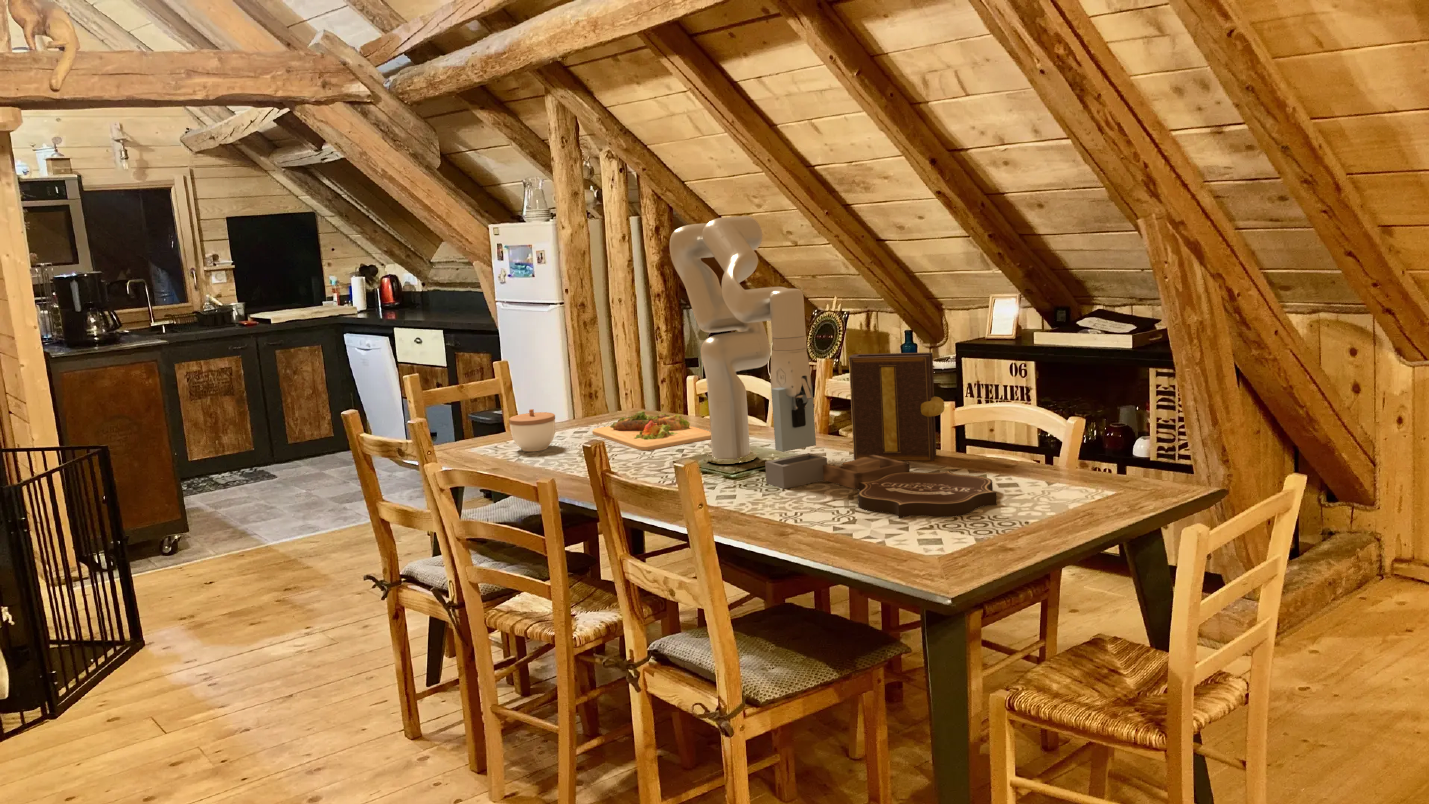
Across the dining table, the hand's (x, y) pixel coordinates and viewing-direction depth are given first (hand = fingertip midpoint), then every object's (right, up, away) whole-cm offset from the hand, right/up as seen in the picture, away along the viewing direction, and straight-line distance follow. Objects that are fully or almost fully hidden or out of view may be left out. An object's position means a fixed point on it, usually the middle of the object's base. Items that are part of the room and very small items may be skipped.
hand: (794, 424), depth 261 cm
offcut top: (+15, -10, +1) cm, 18 cm away
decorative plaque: (+26, -16, -20) cm, 36 cm away
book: (+27, -8, +19) cm, 34 cm away
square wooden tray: (+16, -12, 0) cm, 20 cm away
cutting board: (-36, -5, +68) cm, 77 cm away
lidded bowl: (-68, -8, +60) cm, 91 cm away
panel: (0, -5, +1) cm, 5 cm away
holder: (+1, -13, +2) cm, 13 cm away
